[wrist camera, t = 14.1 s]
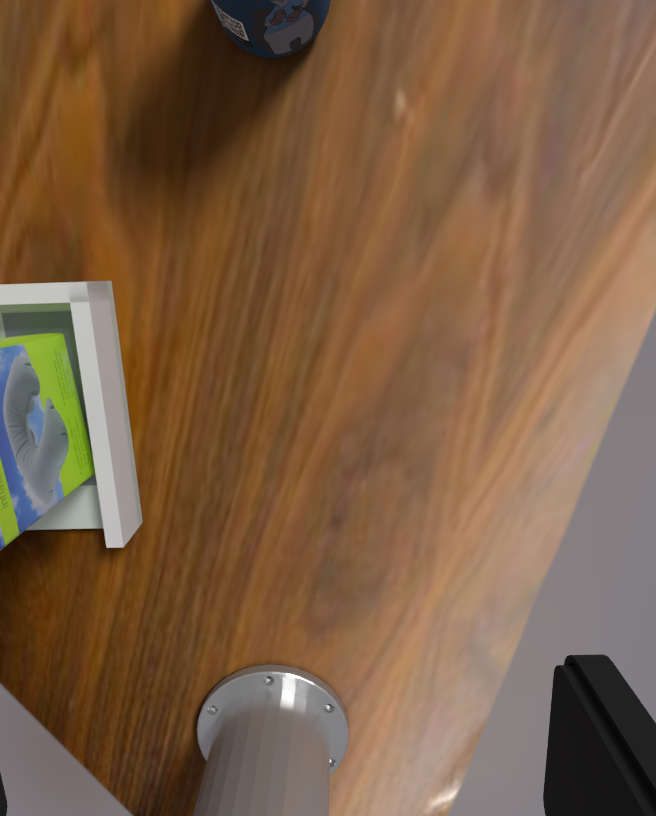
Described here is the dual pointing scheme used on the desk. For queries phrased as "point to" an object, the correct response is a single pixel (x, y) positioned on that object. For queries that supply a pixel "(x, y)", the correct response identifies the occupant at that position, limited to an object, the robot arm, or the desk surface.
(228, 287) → the desk surface
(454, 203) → the desk surface
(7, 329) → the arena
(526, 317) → the desk surface
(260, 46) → the soda can
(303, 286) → the desk surface
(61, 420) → the box
